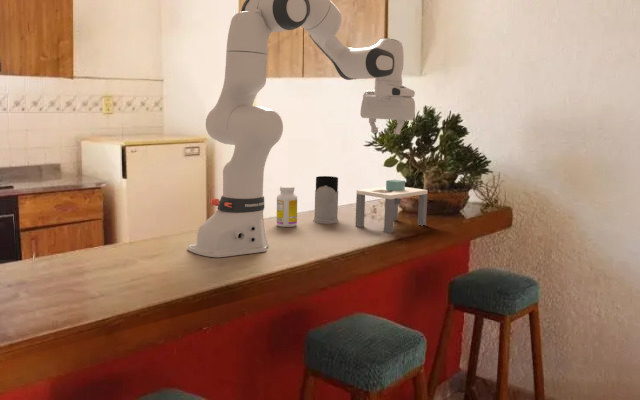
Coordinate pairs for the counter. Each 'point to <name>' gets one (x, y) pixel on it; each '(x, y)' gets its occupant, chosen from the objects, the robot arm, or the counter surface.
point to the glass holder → (326, 200)
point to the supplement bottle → (287, 207)
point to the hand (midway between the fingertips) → (385, 133)
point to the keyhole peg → (395, 188)
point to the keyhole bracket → (390, 204)
